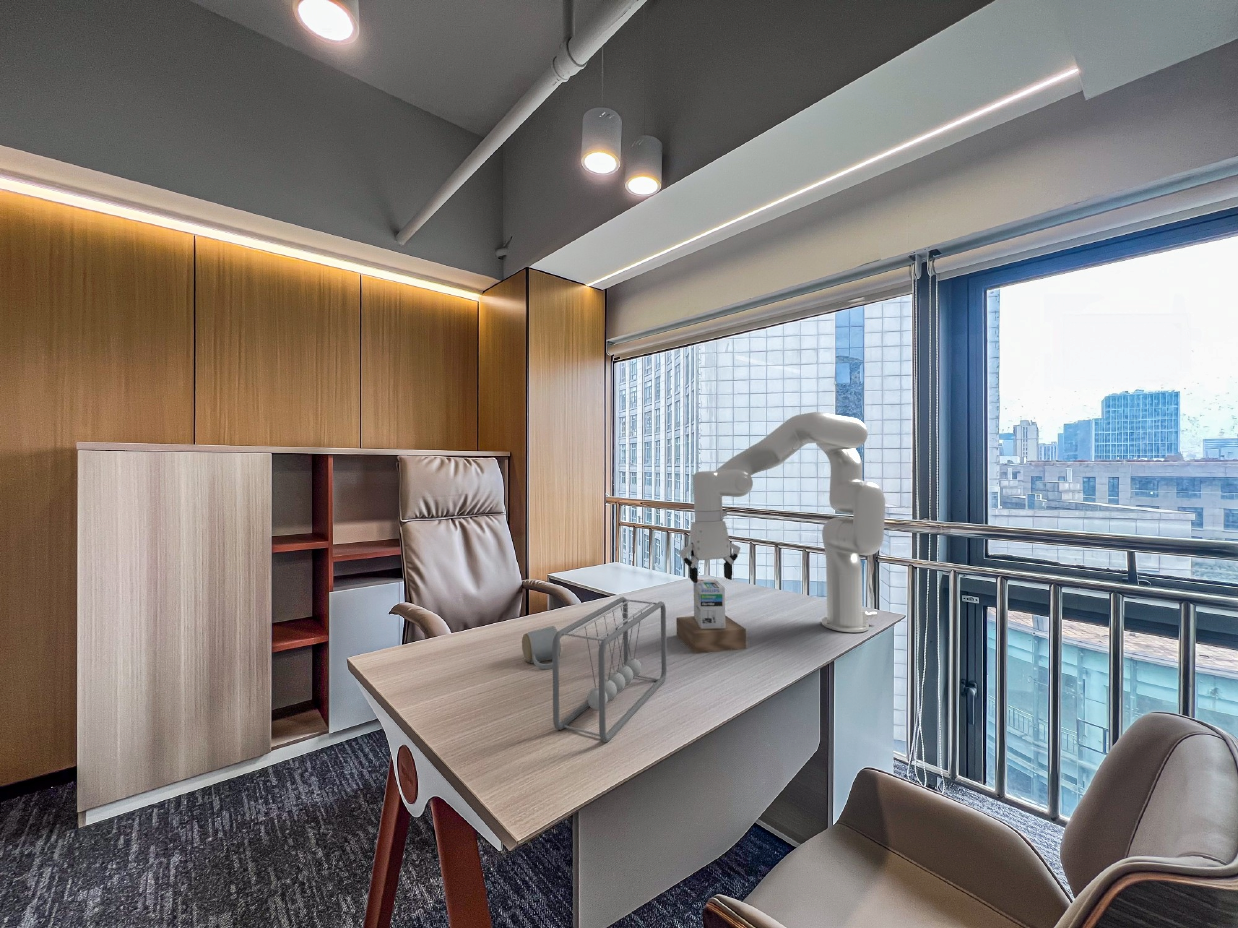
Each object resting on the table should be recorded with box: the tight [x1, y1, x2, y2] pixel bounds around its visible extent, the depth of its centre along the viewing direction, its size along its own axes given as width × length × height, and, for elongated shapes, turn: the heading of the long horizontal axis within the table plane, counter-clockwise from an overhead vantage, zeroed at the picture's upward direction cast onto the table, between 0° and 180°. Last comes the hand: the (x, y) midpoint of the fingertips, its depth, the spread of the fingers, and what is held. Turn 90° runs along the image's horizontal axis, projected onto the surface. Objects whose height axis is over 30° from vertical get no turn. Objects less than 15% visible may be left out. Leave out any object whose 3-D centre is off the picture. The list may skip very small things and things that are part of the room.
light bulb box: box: [692, 578, 726, 629], centre depth 133 cm, size 11×7×11 cm, turn 2°
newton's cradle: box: [551, 596, 668, 743], centre depth 99 cm, size 30×10×18 cm, turn 154°
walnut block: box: [675, 614, 747, 654], centre depth 133 cm, size 14×14×5 cm
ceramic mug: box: [521, 625, 562, 670], centre depth 121 cm, size 11×8×8 cm
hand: (711, 580), depth 134 cm, fingers open, 9 cm apart
